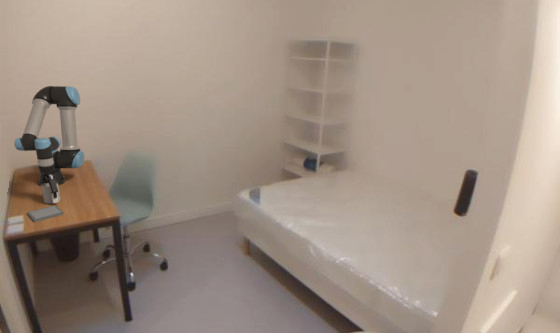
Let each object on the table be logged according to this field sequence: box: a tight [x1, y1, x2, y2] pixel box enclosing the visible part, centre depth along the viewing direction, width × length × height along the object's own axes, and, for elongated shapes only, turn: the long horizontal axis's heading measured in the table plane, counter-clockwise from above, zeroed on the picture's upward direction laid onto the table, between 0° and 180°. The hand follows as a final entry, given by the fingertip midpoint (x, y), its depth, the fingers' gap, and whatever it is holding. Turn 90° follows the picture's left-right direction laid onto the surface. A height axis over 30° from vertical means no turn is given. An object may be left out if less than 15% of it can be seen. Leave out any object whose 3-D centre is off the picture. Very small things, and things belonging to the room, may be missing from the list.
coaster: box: [26, 204, 65, 223], centre depth 193 cm, size 13×14×1 cm
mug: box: [40, 182, 62, 205], centre depth 206 cm, size 12×8×11 cm
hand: (52, 199), depth 207 cm, fingers closed on mug, 12 cm apart
